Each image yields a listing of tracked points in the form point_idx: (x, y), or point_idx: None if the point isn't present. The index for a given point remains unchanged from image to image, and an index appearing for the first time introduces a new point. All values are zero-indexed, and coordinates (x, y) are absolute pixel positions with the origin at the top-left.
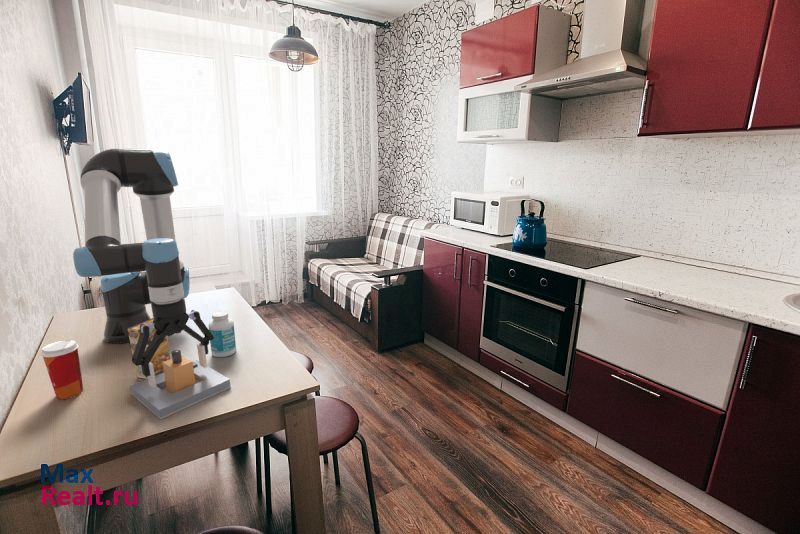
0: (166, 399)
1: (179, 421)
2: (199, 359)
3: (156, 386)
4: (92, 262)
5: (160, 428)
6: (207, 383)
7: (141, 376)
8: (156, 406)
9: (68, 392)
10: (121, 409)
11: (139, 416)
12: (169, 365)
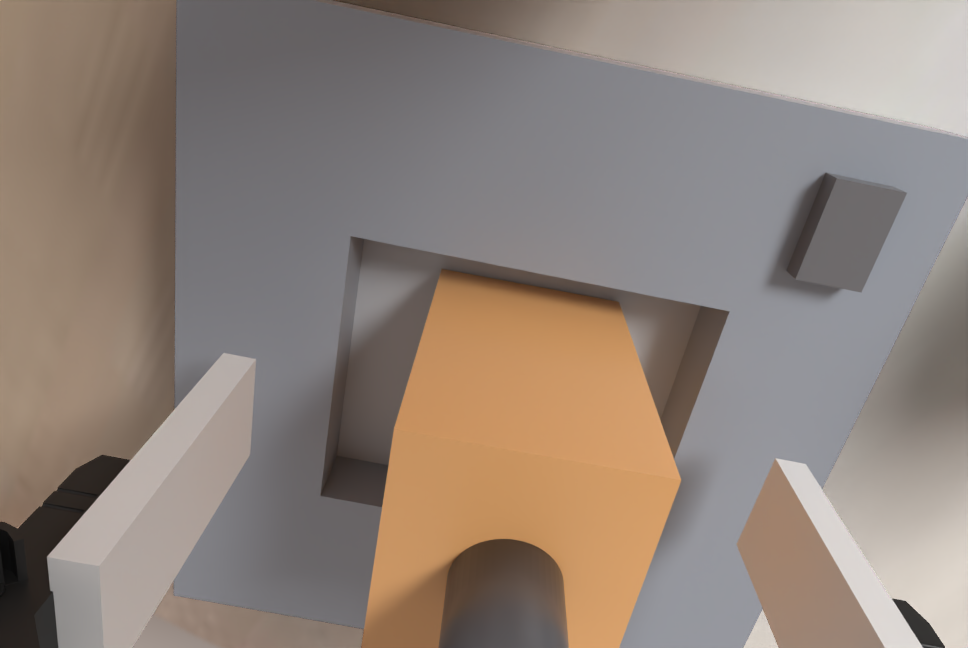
0: (277, 530)
1: (267, 637)
2: (799, 520)
3: (247, 458)
4: None
5: (164, 604)
6: None
7: None
8: None
9: None
10: (64, 179)
11: (127, 395)
12: (386, 582)
